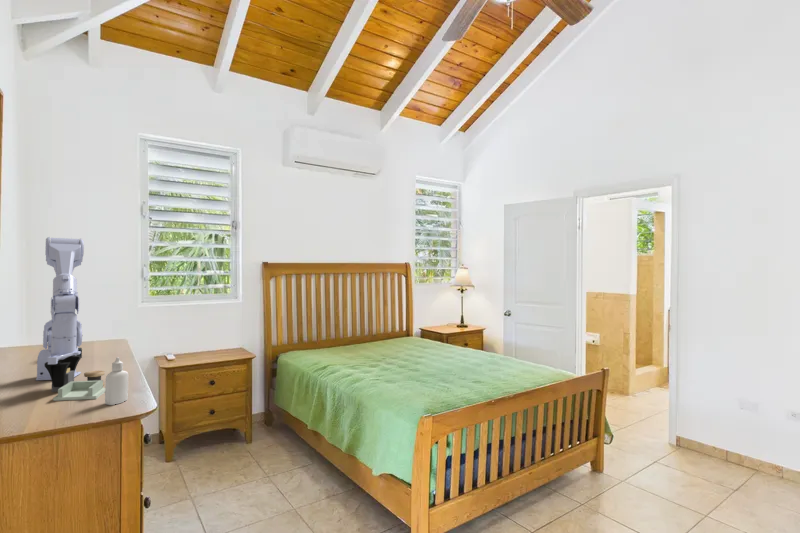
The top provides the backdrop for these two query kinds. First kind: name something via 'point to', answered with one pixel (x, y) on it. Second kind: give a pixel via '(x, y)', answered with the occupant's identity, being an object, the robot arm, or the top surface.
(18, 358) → the top surface
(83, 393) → the notched board
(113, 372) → the eye dropper bottle
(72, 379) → the plug
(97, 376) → the spool
